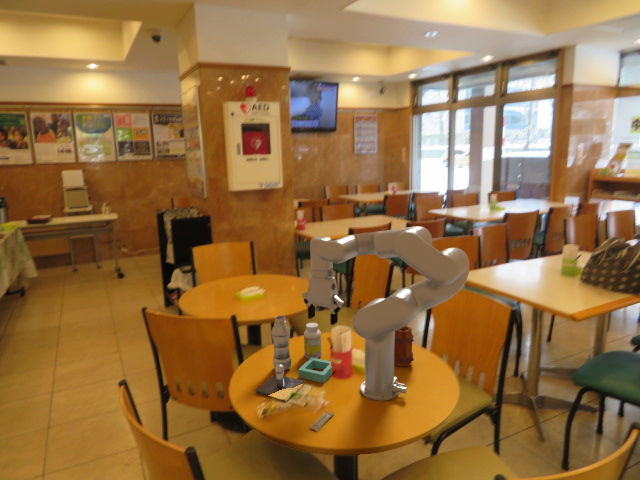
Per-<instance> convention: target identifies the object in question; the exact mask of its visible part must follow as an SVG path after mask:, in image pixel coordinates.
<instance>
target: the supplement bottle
mask: <svg viewBox="0 0 640 480" xmlns="http://www.w3.org/2000/svg"><path fill="white" fill-rule="evenodd" d="M305 328H306V329H305V331H304V332H303V345H304V346H303V348H304V350H303V351H304V357H306V358H307V359H310V358H311V357H312V358H317V359H320V357H322V332H321V330H320V329H319V324H318V323H317V322H308V323H306V325H305Z"/></svg>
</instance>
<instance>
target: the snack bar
mask: <svg viewBox="0 0 640 480" xmlns="http://www.w3.org/2000/svg"><path fill="white" fill-rule="evenodd" d="M334 414H335V413H334V412H327V410H326V411H324V412H323V414H322V415H320V417H318V419H317V420H315V422H314V423H313V424H312V425H310V426H309V429H311V430H312V431H314V432H315V431H316V432H317V433H319V431H320V430H321V429H322V428H323V427H324V426H325V425H326V424H327V422H328V421H329V420H330V419H331V418H332V417H334Z"/></svg>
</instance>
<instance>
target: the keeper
mask: <svg viewBox="0 0 640 480" xmlns="http://www.w3.org/2000/svg"><path fill="white" fill-rule="evenodd" d="M274 371H275V373H274V374H273V375H272V376H271V377H270V378H268V379H267V380H266V381H265V382H264V383H263V384H262V385H260V386H259V387H258V388H257V389H256V390H255V394H257V395H261V396H265V397H268V395H270V394H272V393H275V392H277V391H279V390H282V389H286V388H294V387H296V386H298V385H300V384H303V383H305V380H302V379H299V378H294V377H289V376H285V374H284V373H285V370H284V366H283V365H281V364H279V365H277V366H276V367H274Z"/></svg>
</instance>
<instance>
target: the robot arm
mask: <svg viewBox="0 0 640 480" xmlns="http://www.w3.org/2000/svg"><path fill="white" fill-rule="evenodd" d="M309 244H310V245H309V247H310V248H309V250H310V251H309V253H310V255H309V256H310V275H309V278H308V279H309V280H308V286H307V291H305V292H302V293H301V296H302V299H303V302H304V303H305V307H306V308H307V319H309V320H310V319H312V318H314V317H316V307H315V306H318V307H319V306H320V307H324V308H327V309H329V311H330V312H331V313H330V315H329V316H330V317H329V318H330V326H334V325H336V324H337V323H338V319H339V318H338V316H339V312H340V311H341V310H342V309H343V306H344V304H345V302H344V300H342V299H341V298H340V297H339V294H338V292H339V291H338V285H337V284H338V283H337V280H336V277H335V276H336V272H334V264H342V263H345V262H346V261H348V260H350V259H353V258H356V257H361V256H368V255H369V256H371V255H376V256H377V257H378V258H379V259H383V260H384V259H391V258H400V260H402V261H403V262H404V263H405V264H406V265H408V266H409V267H410V268H412V269H413V270H415V271H416V272H418V273H419V274H421V275H422V276H424V277H425V278H423V279H422V280H420V281H417V282H415V283H412V284H411V285H408V286H406V287H402V288H400V289H398V290H396V291H395V292H393V293H392V294H391V295H390V296H387V297H378V298H375V299H372V300H371V301H369V302H368V303H367V304H366V305H364V306H363V307H362V308H361V309H359V310H358V311H357V312H356V313H355V314H354V316H353V319H352V326H353V330H354V332H355V333H356V334H357V335H358V336H359V337H360V338H363V339H364V381H363V382H361V385H360V392H361V394H362V395H363V397H365V398H367V399H369V400H372V401H383V402H384V401H385V402H386V401H389V400H392V399H394V398H396V397H397V396H398V394H399V393H400V394H407V389H408V388H407V387H406V384H405V383H402V382H398V378H397V376H395V364H394V348H395V331H396V330H399V329H401V328H403V327H405V326H408V325H409V324H411V322H412V321H414V320H415V318H416V317H418V316H419V315H420V314H422V313H423V312H425V311H427V310H429V309H433V308H434V307H436V306H438V305H440V304H443V303H444V302H447V301H449V300H450V299H451V298H453V297H454V296H456V295H457V294H458V293H459V292H460V291H461V289H462V288H463V287H464V285H465V284H466V282H467V279H468V278H469V273H470V267H471V266H470V259H469V256H468V255H467V253H466V252H465V251H464V250H463V249H461V248H458V247H449V248H448V247H447V248H445V249H443V250H442V251H440V250H439V249H437V248H436V247H434V246H433V237H432V234H431V232H430V231H429V230H428V229H427V228H426V227H425V226H419V225H418V226H417V225H416V226H414V225H413V226H408V227H400V228H394V229H387V230H380V231H374V232H373V231H369V232H362V233H355V234H349V235H346V236H342V237H340V238H337V239H332V238H331V237H329V236H326V235H325V236H324V235H323V236H322V235H321V236H319V235H318V236H314V237H312V238H311V239H310V242H309Z"/></svg>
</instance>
